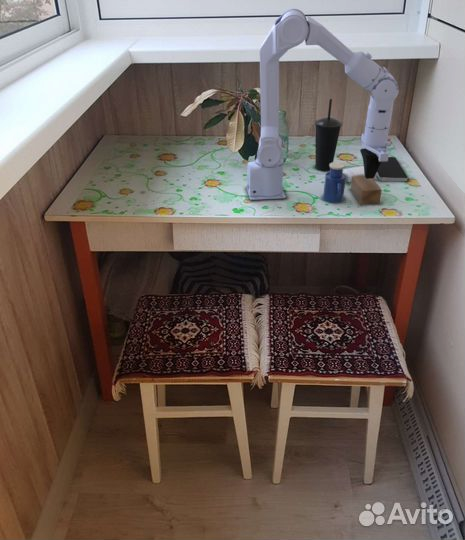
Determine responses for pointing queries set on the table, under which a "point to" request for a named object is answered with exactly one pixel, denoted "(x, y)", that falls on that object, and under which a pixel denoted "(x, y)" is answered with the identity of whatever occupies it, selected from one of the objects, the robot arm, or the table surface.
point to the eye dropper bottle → (354, 173)
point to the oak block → (365, 190)
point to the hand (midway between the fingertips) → (369, 177)
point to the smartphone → (391, 171)
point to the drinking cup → (326, 140)
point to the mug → (334, 183)
